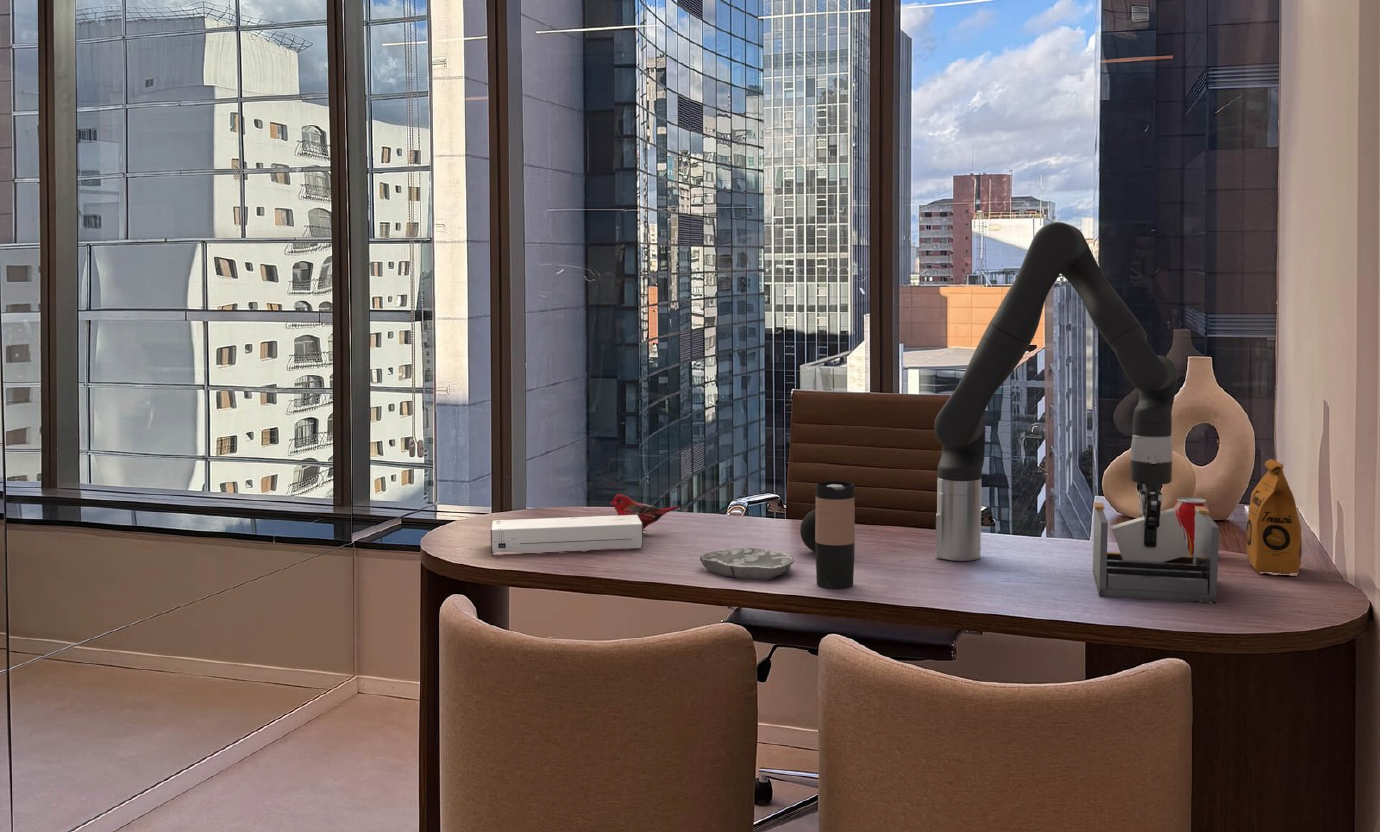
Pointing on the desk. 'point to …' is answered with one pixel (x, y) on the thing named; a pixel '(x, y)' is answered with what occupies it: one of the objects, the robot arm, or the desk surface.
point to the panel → (1166, 545)
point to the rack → (1158, 566)
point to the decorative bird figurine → (639, 509)
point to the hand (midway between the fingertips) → (1149, 544)
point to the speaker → (809, 530)
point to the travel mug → (835, 534)
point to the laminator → (566, 533)
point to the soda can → (1188, 518)
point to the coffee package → (1273, 525)
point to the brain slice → (748, 563)
